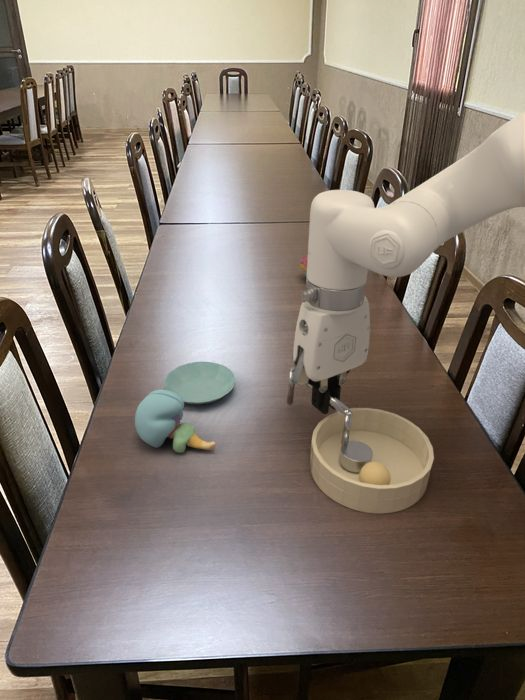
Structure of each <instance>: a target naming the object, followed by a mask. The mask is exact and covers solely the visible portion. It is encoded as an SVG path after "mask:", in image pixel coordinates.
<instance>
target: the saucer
mask: <svg viewBox="0 0 525 700" xmlns="http://www.w3.org/2000/svg"><path fill="white" fill-rule="evenodd" d="M235 384H236V376H235V374H234V373H233V371H232V370H231V369H230V368H228V367H227V366H225V365H223V364H220V363H217V362H211V361H193V362H188V363H185V364H182V365H180V366H177V367H176V368H174V369H172V370H171V371H170V372H169V373H168V374H167V375H166V376H165V378H164V380H163V388H164V390H169V391H172V392H175V393H177V394H178V395H180V396H181V397H182V399H183V401H184V404H190V405H204V404H205V405H206V404H210V403H213V402H217V401H218V400H220V399H221V398H223V397H225V396H226V395H227V394H229V393H230V392H231V391H232V390H233V388H234V386H235Z"/></svg>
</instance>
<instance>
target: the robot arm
mask: <svg viewBox="0 0 525 700" xmlns="http://www.w3.org/2000/svg"><path fill="white" fill-rule="evenodd" d="M374 203H375V202H374V201H373V199H372V198H371V197H370V196H369V195H367V194H365V193H362V192H360V191H356V190H350V189H330V190H325V191H322V192H320V193H318V194H316V195H315V197H314V198H313V199H312V201H311V205H310V209H309V223H308V227H309V228H308V243H307V255H308V259H307V277H306V276H305V277H306V279H305V280H306V281H305V290H304V291H301V292H300V293H299V299H300V301H301V305H300V308H299V312H298V317H297V321H296V326H295V333H294V339H293V352H292V357H293V358H292V359H293V360H292V363H293V367H296V369H295V372H294V375H293V378H292V380H293V381H294V382H295V384H297V385H298V386H307V384H310V385H312V389H311V399H310V400H311V405H312V406H313V407H314V408H315V409H316V410H318V411H319V412H320V413H321V414H323V415H327V414H328V413H329V410H330V408H331V409H332V410H334V411H337V410H336V409H335V408H334V407H333V406H331V405H330V404H329V401H330V394H331V395H332V396H334V397H335V398H336V399H338V400H339V401H340V399H341V389H342V386H344V385H345V383H346V381H347V376H348V374H349V373H350V372H351V370H353V369H355V368H357V367H360V366H361V365H363V364H364V363H366V361H367V359H368V356H369V349H370V339H371V338H370V337H371V312H370V304H369V299H368V298H367V297H366V287H367V279H368V271H371V272H373V273H376V274H378V275H381V276H384V277H389V278H401V277H402V278H403V277H406V276H409V275H410V274H412V273H414V272H415V271H417V270H418V269H419V268H420V267H421V266H422V265H423V264H424V263H425V262H426V261H427V260H428V259H429V258H430V256H432V254H433V253H434V252H435V251H436V250H437V249H438V248H439V247H440V246H441V245H442V244H444V243H446V242H447V241H449V240H451V239H452V238H454V237H456V236H458V235H460V234H461V233H463V232H465V231H467V230H468V229H471V228H472V227H474V226H476V225H477V224H480V223H481V222H483V221H485V220H488V219H489V218H491V217H494V216H495V215H498V214H501V213H503V212H505V211H508V210H511V209H516V208H525V110H523V111H522V112H521V113H520V114H518V115H516V116H514V117H513V118H511V119H510V120H508V121H506V122H505V123H504V124H503V125H501V126H500V127H498V128H497V129H496V130H494V131H493V132H491V134H489V136H487V138H486V139H485V140H484V141H483V142H482V143H480V145H478V146H477V147H476V148H474V149H473V150H471V151H470V152H469V153H467V154H466V155H464V156H463V157H461V158H459V159H457V160H456V161H455V162H453V163H452V164H451V165H449V166H447V167H445V168H444V169H442V170H441V171H439V172H438V173H437V174H434V175H433V176H432V177H430V178H428V179H427V180H426V181H424V182H422V183H421V184H419V185H417V186H416V187H414V188H413V189H411V190H409V191H407V192H406V193H405V194H403V195H402V196H400V197H398V198H397V199H395V200H394V201H392V202H391V203H389V204H386V205H383V206H379V207H375V204H374ZM340 402H341V401H340Z"/></svg>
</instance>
